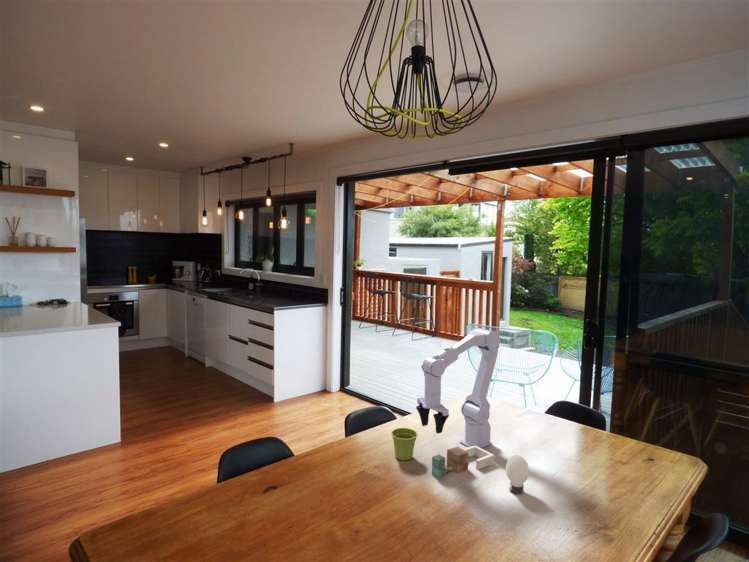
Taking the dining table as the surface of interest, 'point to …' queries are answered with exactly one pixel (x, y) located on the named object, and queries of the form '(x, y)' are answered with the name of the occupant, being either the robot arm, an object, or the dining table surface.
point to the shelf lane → (480, 456)
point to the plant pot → (404, 442)
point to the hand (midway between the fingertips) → (431, 429)
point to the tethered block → (450, 462)
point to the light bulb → (517, 473)
